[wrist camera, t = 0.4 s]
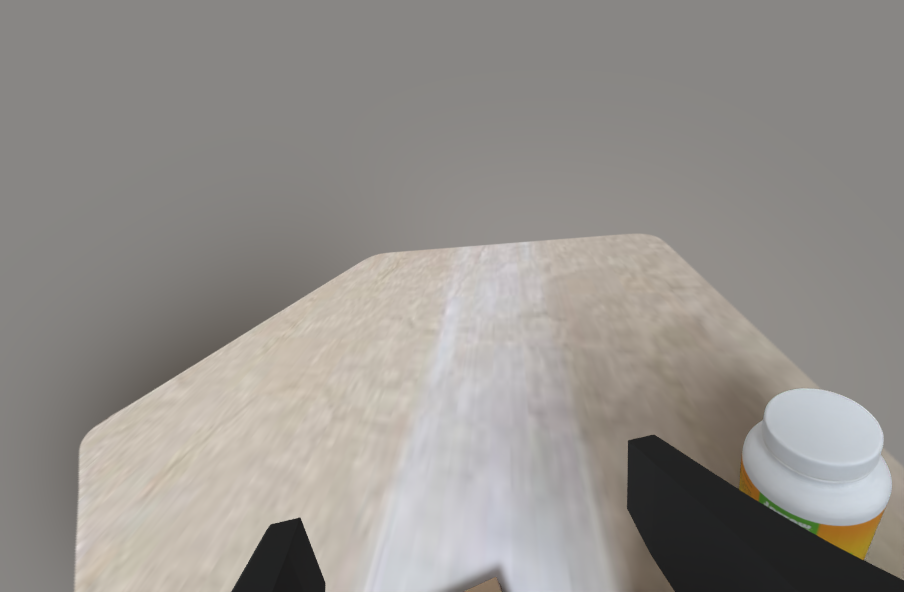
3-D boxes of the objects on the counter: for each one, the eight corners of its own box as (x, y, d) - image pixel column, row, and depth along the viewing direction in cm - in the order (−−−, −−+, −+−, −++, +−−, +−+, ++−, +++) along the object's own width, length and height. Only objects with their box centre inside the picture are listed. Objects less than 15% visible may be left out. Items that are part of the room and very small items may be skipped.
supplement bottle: (735, 568, 24) (744, 462, 19) (737, 479, 28) (745, 369, 22) (870, 610, 21) (925, 497, 16) (853, 504, 25) (893, 384, 19)
